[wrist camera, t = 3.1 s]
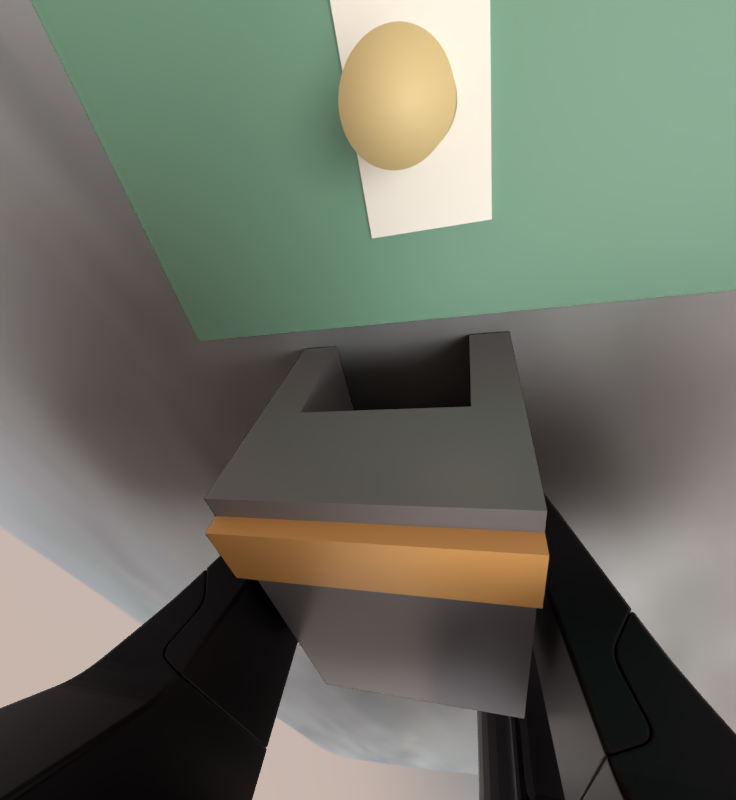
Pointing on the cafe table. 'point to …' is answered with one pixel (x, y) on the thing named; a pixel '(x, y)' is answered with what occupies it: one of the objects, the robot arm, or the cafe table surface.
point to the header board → (413, 151)
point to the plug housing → (396, 532)
